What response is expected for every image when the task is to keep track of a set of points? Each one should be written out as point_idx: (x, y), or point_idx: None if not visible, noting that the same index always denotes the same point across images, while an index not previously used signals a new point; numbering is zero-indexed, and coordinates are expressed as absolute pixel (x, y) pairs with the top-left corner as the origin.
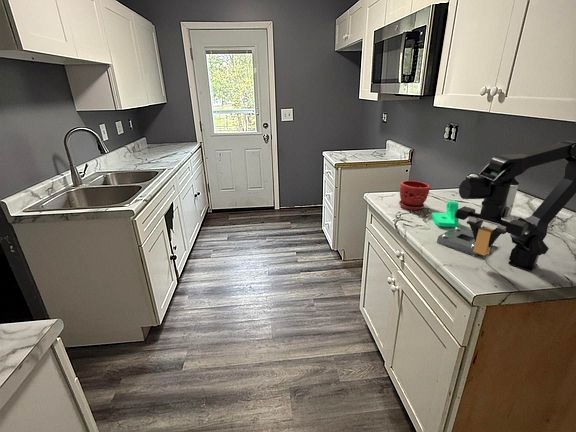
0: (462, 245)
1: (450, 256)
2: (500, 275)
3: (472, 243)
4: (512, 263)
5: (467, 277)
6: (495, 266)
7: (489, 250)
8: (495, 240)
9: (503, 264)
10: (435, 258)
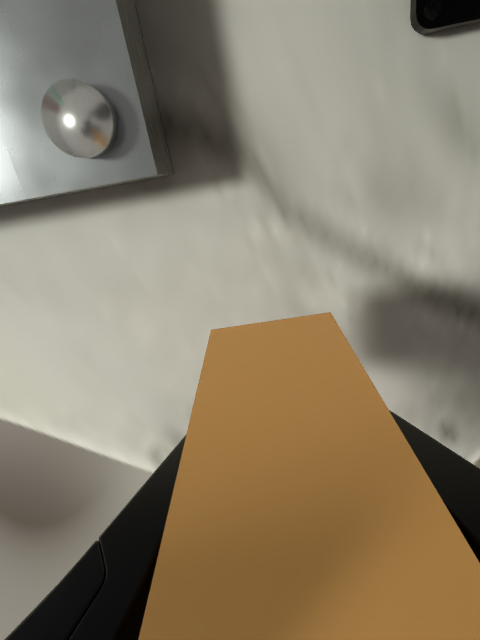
0: (14, 201)
1: (91, 348)
2: (428, 298)
3: (10, 50)
4: (453, 9)
5: None
6: (352, 197)
7: (336, 327)
8: (467, 473)
9: (382, 88)
10: (78, 442)
